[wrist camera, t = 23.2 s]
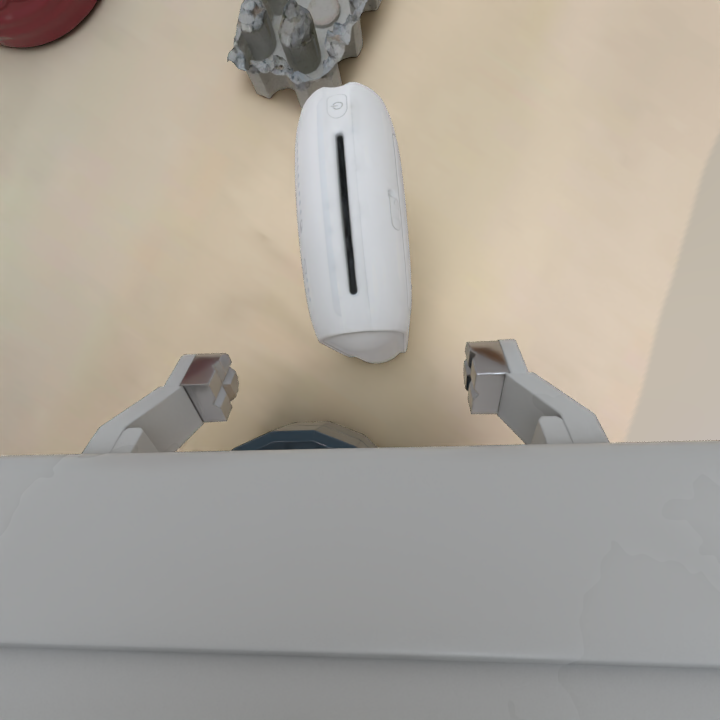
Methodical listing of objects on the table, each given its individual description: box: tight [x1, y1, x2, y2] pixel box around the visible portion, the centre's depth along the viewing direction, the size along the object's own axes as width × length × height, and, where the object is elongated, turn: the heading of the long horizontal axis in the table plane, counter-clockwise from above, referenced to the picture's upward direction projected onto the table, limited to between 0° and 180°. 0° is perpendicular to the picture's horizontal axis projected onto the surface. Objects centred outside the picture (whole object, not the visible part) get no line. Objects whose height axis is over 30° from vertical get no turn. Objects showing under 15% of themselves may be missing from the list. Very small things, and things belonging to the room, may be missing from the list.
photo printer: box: [295, 82, 412, 364], centre depth 19 cm, size 10×4×12 cm, turn 5°
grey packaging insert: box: [227, 0, 381, 108], centre depth 25 cm, size 11×8×4 cm
